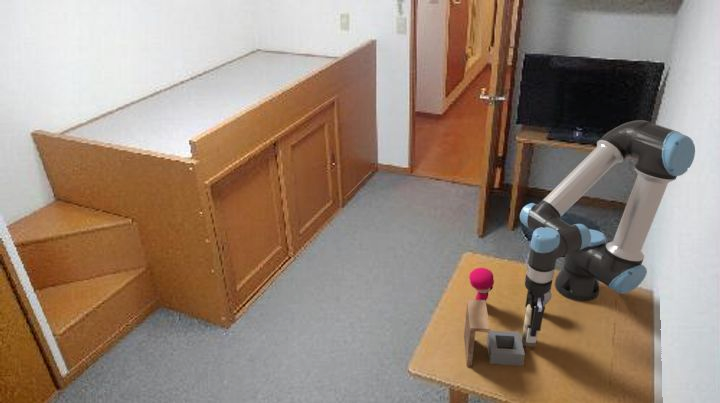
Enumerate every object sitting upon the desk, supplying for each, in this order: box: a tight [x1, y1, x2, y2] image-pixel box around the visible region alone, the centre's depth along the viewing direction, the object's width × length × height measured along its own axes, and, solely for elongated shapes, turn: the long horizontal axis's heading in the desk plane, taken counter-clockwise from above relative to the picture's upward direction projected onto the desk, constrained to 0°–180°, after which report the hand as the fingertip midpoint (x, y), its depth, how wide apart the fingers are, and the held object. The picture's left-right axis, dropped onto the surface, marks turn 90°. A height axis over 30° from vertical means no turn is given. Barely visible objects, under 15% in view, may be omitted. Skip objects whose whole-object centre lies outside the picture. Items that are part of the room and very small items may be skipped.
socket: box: [486, 330, 526, 367], centre depth 169 cm, size 10×10×4 cm
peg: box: [521, 304, 539, 348], centre depth 170 cm, size 4×4×14 cm
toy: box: [469, 267, 495, 302], centre depth 186 cm, size 8×8×15 cm
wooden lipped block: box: [463, 298, 491, 367], centre depth 167 cm, size 6×13×15 cm, turn 174°
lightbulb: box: [543, 290, 553, 308], centre depth 183 cm, size 6×6×11 cm
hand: (529, 336), depth 172 cm, fingers closed on peg, 4 cm apart
